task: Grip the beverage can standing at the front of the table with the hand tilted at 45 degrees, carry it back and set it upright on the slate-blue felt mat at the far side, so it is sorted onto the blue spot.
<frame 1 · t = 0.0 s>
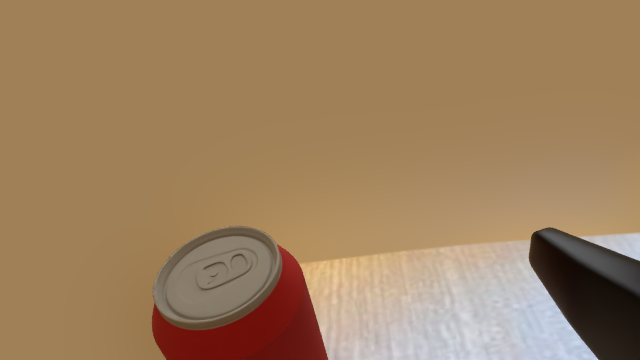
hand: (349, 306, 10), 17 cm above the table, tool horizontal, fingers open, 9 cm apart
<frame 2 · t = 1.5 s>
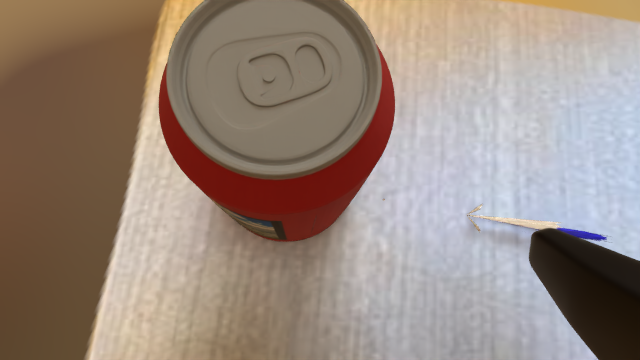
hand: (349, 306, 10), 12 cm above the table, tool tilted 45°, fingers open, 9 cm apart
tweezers: (493, 220, 23), on the table
beverage can: (287, 178, 23), on the table
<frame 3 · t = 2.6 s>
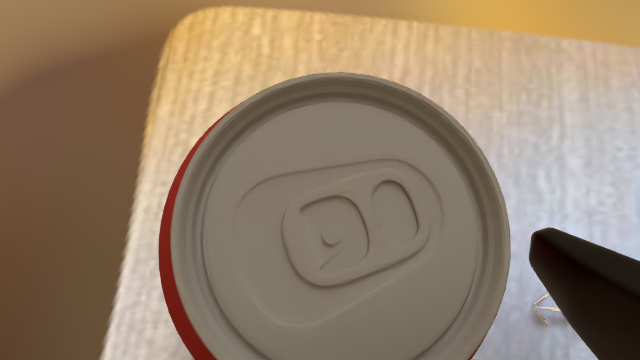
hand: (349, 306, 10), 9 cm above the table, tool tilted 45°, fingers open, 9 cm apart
beverage can: (314, 259, 19), on the table
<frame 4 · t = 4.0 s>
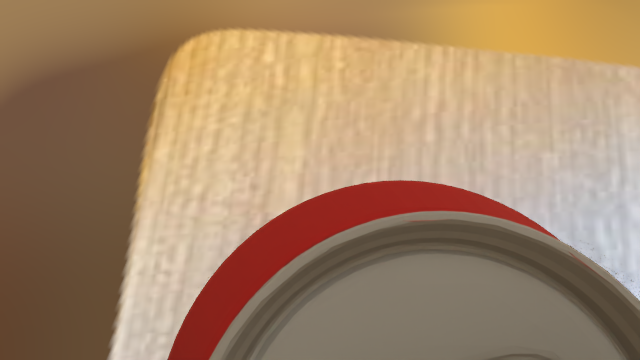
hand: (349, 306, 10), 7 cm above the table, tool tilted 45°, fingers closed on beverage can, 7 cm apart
beverage can: (338, 330, 16), on the table, touching gripper
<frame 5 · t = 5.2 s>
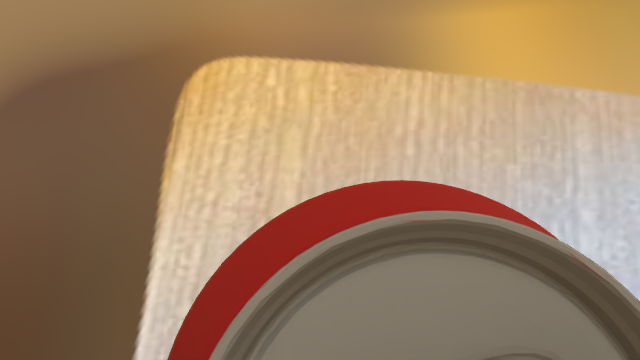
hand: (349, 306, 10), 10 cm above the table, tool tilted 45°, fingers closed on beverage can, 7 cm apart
beverage can: (338, 330, 16), point 3 cm above the table, touching gripper
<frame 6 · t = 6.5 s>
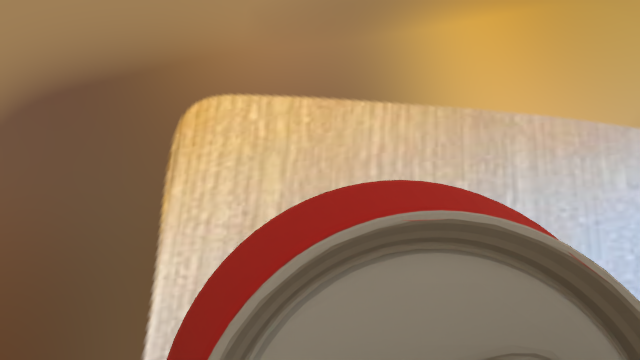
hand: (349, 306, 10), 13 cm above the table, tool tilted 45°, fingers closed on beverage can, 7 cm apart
beverage can: (338, 330, 16), point 6 cm above the table, touching gripper
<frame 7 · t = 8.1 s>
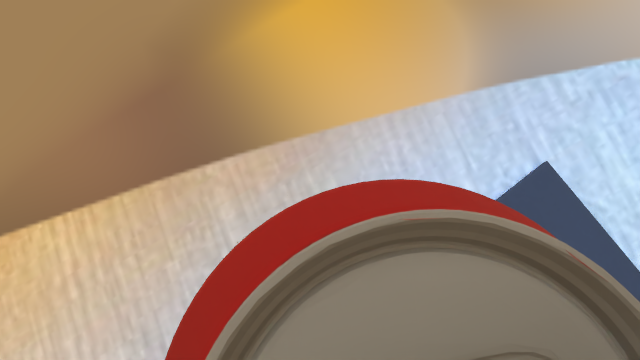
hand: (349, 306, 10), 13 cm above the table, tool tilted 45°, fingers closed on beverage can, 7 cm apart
blue mat: (539, 276, 23), on the table
beverage can: (337, 329, 16), point 6 cm above the table, touching gripper
when the fingers open (7 cm above the table, at t = 12.2 s): beverage can stays where it is, resting on blue mat.
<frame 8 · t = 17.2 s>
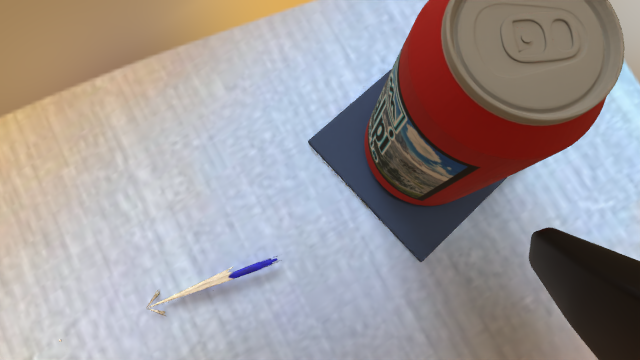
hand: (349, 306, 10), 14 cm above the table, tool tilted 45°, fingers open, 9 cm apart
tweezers: (181, 294, 23), on the table
blue mat: (419, 148, 25), on the table
beverage can: (420, 150, 25), resting on blue mat
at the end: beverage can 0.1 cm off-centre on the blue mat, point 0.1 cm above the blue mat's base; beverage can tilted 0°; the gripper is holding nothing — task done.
